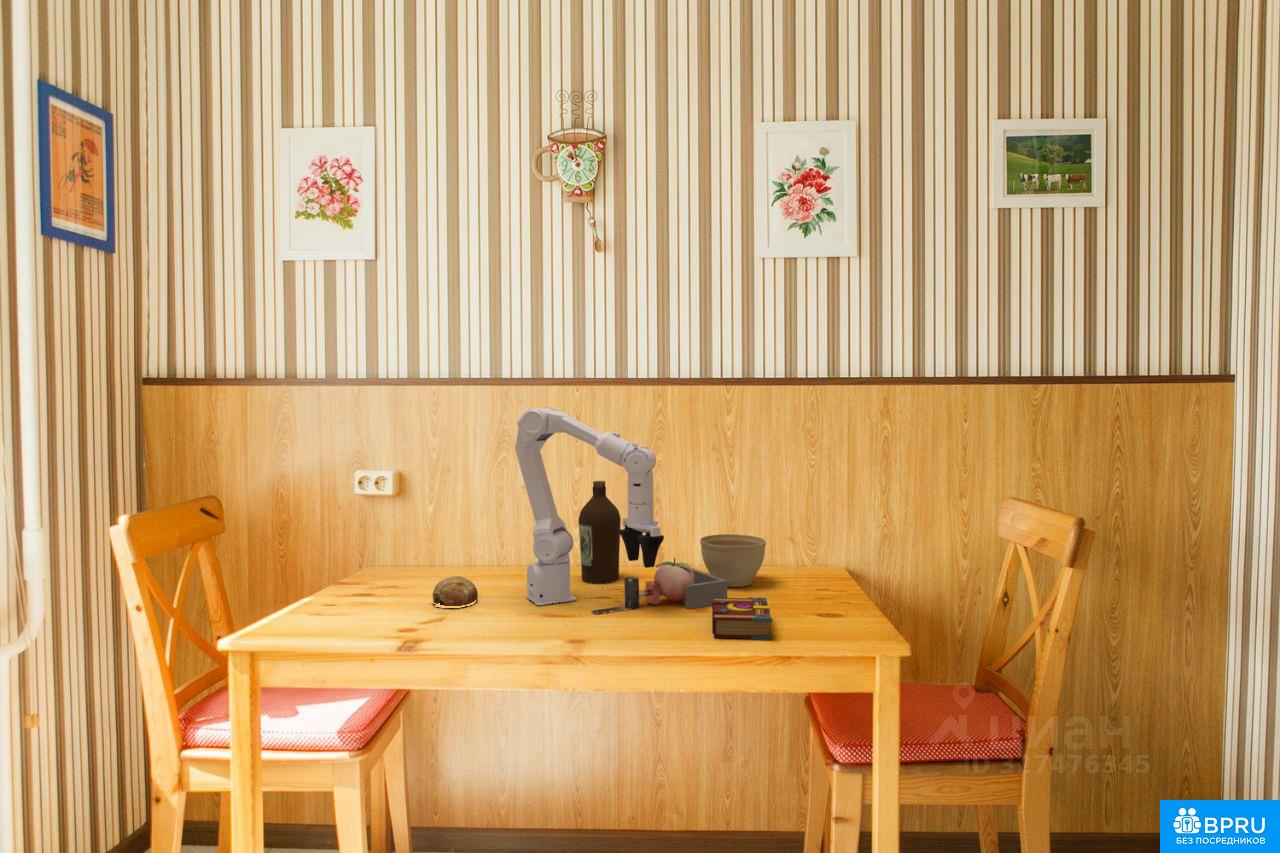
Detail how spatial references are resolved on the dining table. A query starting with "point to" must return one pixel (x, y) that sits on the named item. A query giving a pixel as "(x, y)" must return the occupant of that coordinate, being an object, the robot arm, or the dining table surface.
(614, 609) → the rail strip
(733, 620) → the decorative book
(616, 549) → the olive oil
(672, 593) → the decorative fruit
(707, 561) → the planter bowl
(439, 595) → the bread roll
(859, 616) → the dining table surface
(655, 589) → the kicker rod
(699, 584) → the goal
